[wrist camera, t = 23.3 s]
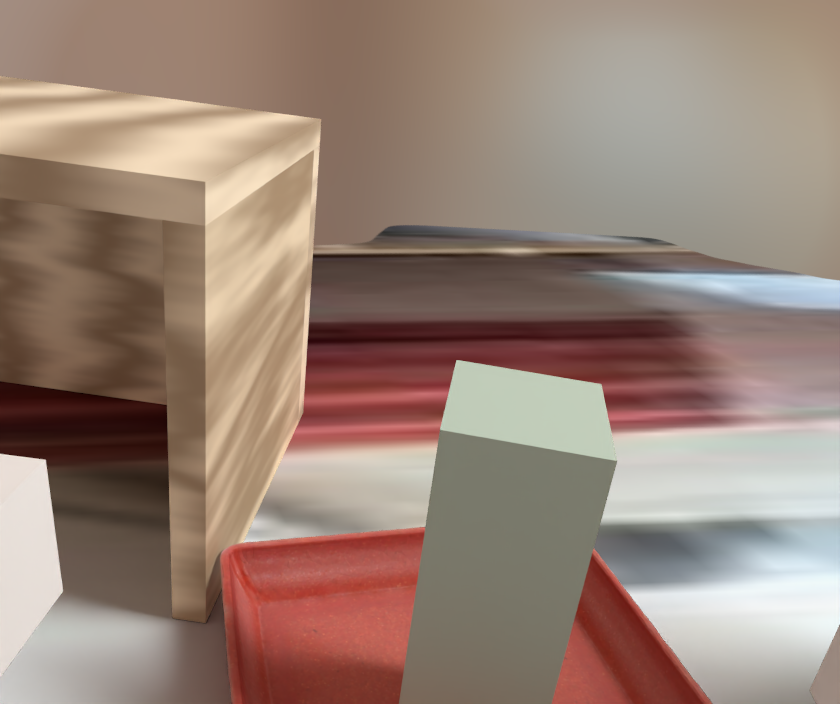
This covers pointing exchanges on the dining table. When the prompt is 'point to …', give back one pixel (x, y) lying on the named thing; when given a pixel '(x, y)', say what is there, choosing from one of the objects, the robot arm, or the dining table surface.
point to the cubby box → (164, 286)
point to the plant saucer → (405, 627)
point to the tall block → (507, 536)
